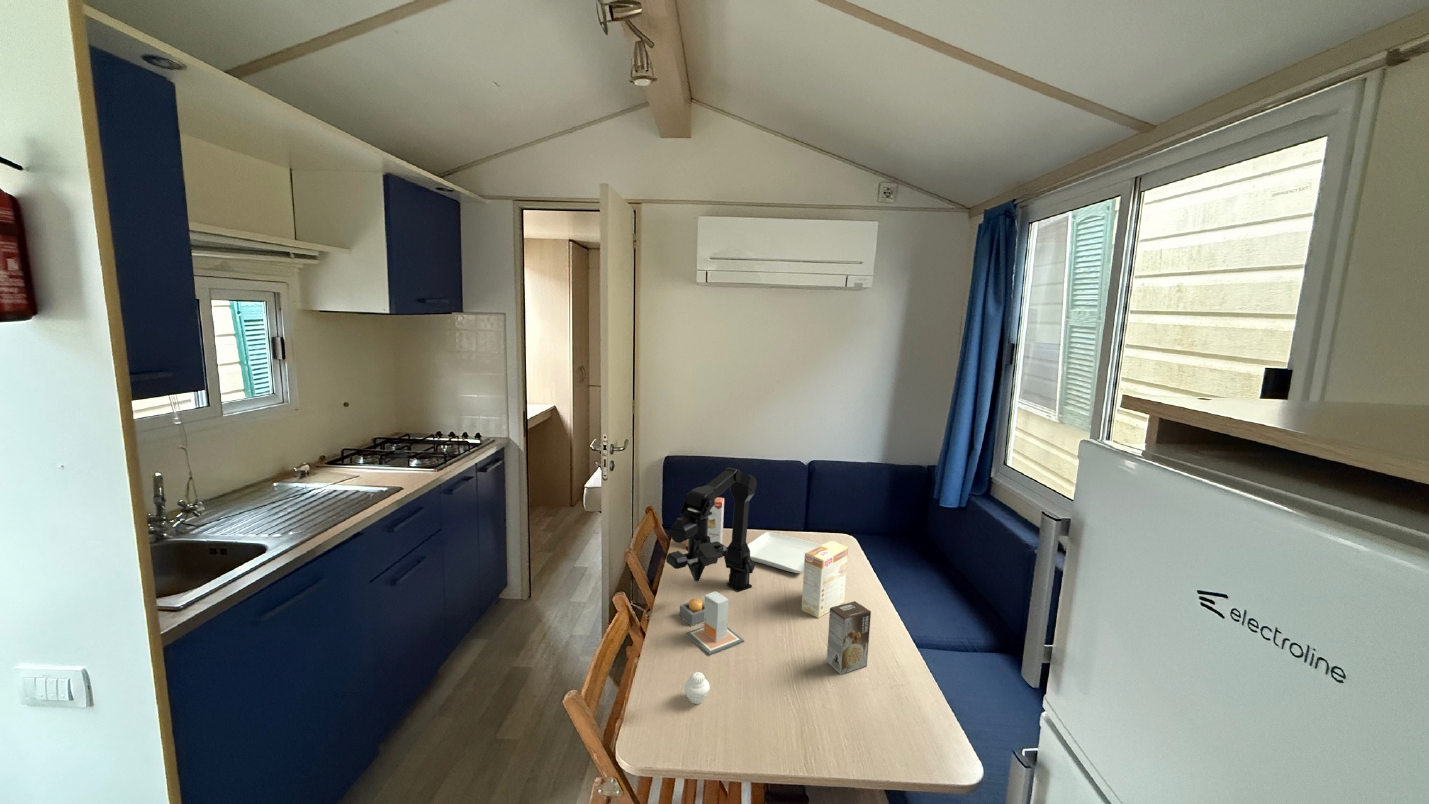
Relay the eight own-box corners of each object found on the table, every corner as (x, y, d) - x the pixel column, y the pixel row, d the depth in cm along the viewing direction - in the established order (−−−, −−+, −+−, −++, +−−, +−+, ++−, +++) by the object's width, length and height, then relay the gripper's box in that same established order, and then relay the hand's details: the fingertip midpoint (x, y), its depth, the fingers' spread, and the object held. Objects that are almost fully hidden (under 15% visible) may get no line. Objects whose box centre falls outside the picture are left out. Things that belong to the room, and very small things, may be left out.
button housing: (698, 609, 176) (698, 599, 176) (711, 619, 171) (711, 608, 170) (679, 615, 172) (679, 605, 172) (691, 626, 167) (692, 615, 166)
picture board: (719, 622, 169) (719, 620, 169) (744, 642, 159) (744, 639, 159) (686, 634, 162) (686, 632, 162) (709, 655, 153) (709, 653, 152)
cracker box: (685, 549, 220) (686, 498, 217) (688, 543, 226) (689, 493, 223) (720, 553, 218) (722, 502, 215) (722, 547, 224) (724, 497, 221)
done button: (697, 606, 174) (697, 597, 173) (704, 612, 171) (704, 602, 170) (686, 609, 171) (686, 600, 171) (693, 615, 168) (693, 606, 168)
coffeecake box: (827, 594, 189) (830, 539, 186) (845, 602, 184) (849, 546, 181) (800, 609, 178) (803, 552, 175) (818, 619, 173) (822, 559, 170)
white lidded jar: (695, 687, 139) (696, 662, 138) (714, 699, 135) (715, 672, 134) (678, 700, 134) (679, 674, 133) (697, 712, 131) (698, 685, 130)
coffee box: (851, 653, 156) (855, 600, 153) (867, 666, 150) (872, 611, 148) (825, 661, 152) (829, 607, 149) (840, 675, 146) (845, 618, 144)
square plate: (828, 554, 222) (828, 545, 221) (800, 580, 199) (801, 570, 198) (766, 538, 236) (767, 529, 235) (734, 561, 213) (735, 551, 212)
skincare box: (702, 633, 162) (704, 594, 160) (713, 628, 165) (715, 590, 163) (716, 643, 157) (717, 603, 155) (727, 638, 160) (729, 599, 158)
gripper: (686, 548, 155) (684, 600, 158) (739, 535, 166) (737, 584, 168) (665, 534, 164) (664, 584, 167) (717, 523, 175) (715, 569, 177)
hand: (696, 581), depth 169 cm, fingers closed
